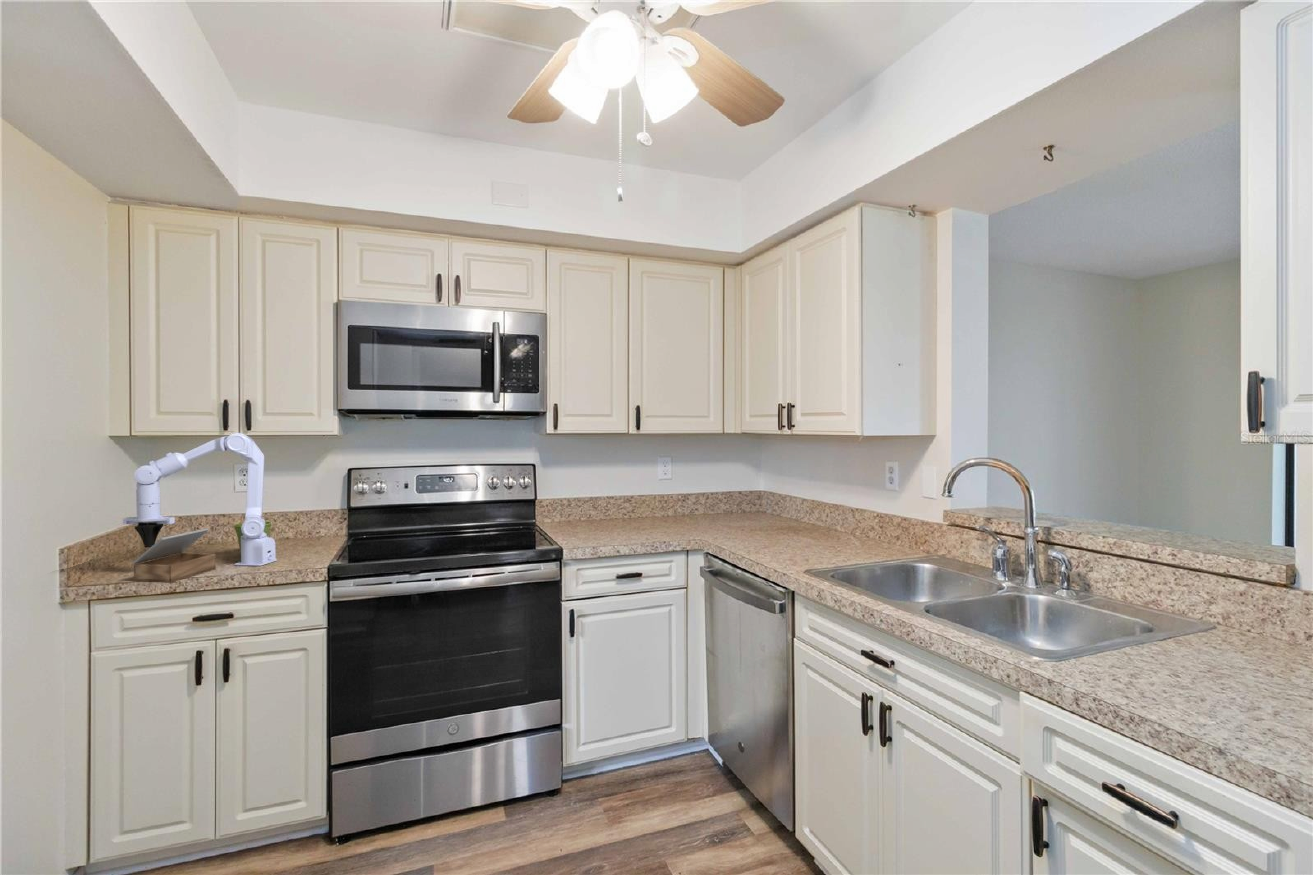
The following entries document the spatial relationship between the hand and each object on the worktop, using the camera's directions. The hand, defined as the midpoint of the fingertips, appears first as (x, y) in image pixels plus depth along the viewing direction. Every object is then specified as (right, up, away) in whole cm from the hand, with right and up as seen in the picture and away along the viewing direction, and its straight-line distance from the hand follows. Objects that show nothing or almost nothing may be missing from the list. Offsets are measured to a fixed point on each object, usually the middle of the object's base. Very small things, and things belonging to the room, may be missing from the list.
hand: (149, 547), depth 188 cm
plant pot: (+14, -8, +27) cm, 32 cm away
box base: (+10, -8, -2) cm, 13 cm away
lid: (+9, +1, -2) cm, 9 cm away
